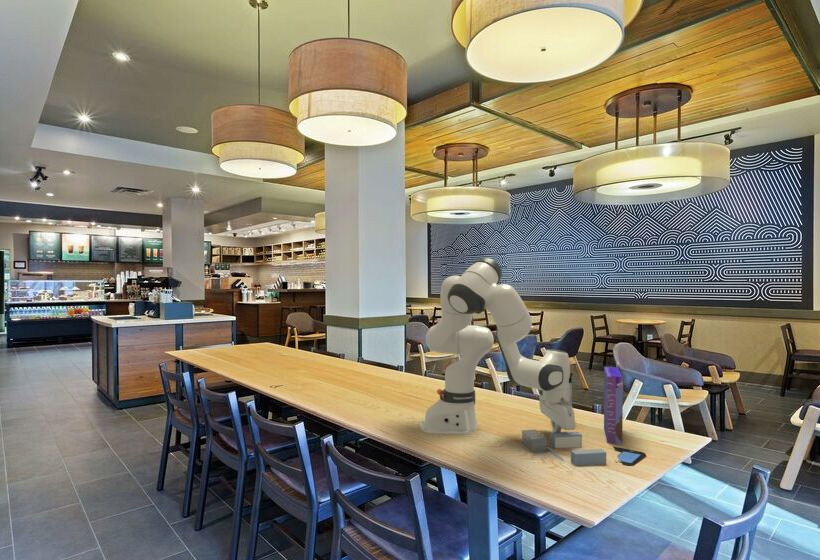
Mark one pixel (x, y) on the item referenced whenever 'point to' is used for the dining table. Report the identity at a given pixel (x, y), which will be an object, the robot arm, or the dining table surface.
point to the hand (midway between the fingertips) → (556, 433)
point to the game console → (629, 456)
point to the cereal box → (613, 404)
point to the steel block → (534, 441)
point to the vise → (585, 456)
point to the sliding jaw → (565, 439)
